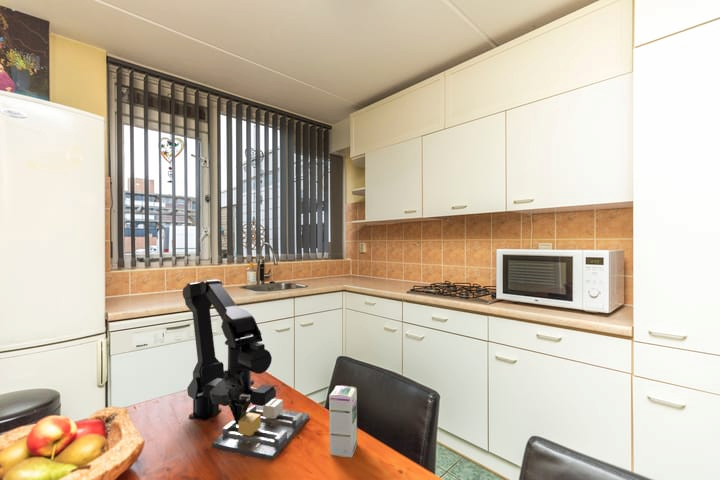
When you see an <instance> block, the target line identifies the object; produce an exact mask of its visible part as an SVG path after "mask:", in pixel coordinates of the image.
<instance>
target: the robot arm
mask: <svg viewBox="0 0 720 480" xmlns="http://www.w3.org/2000/svg"><path fill="white" fill-rule="evenodd" d="M182 296H183V299H184V303H185V306H186V307H187V309H189V310H190V312H191V314H192V319H193V320H192V321H193V330H194V339H195V347H196V357H197V358H196V359H197V362H196V365H195V367H194V369H193V370H192V379H191V381H190V382H189V385H188V386H187V387H186V389H187V390H186V391H187V396H188V397H190V398H191V399H193V401H192V412H191V413H190V414H189V415H188V418H189V419H196V420H201V421H208V420H210V419H211V418H212V417H214V416H215V415H217V414H218V413H220V412H221V411H222V407H228V406H229V409H230V411H231V414H232V417H233V419H234V421H235V422H236V425H238V421H239V420H240V419H241V418H243V417H244V416H245V414H246V411H247V409H248V408H250V407H249V406H250V405H251V404H252V405H255V406H264V405H266V404H267V403H268V402H270V401H271V400H272V399H273V398H274V399H275V398H276V397H277V388H275V386H274V385H270V384H260V385H259V386H257V388H256V387H252V386H253V385H254V383H255V381H254V380H253V379H252V373H254V374H257V375H258V374H259V375H261V374H263V373H265V372H266V371H268V369H269V368H270V366H271V364H272V355H271V352H270V351H269V350H267V349H265V347H266V346H265V343H260V342H263V337H262V332H261V330H260V328H259V326H258V324H257V322H256V319H255V317H254V316H253V315H252V314H251V313H250V312H249V311H248V310H246V309H244V308H241V307H239V306H238V305H237V303H236V302H235V301H234V299H233V298H232V297H231V296H230V294H229V292H228V291H227V290H226V288H224V286H223V282H222V280H220V279H205V280H203V281H200V282H190V283H189V282H188V283H187V284H186V286H184V287H183V289H182ZM212 306H213V308H214V309H215V311H216V313H218V315H219V317H220V318H221V321H222V322H221V326H220V327H221V329H222V332H223V335H224V337H225V339H226V340H225V341H224V345H225V346H227V369H224V368H225V367H224V366H225V365H224V363H223V361H220V360H218V358H217V357H216V351H215V350H216V349H215V343H214V341H215V340H214V333H213V324H212V316H211V307H212ZM220 406H222V407H220Z"/></svg>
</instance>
